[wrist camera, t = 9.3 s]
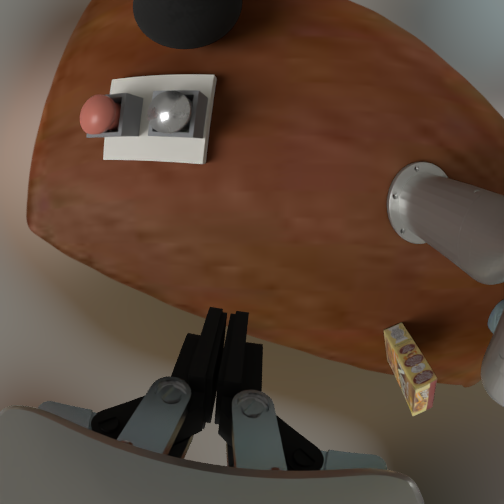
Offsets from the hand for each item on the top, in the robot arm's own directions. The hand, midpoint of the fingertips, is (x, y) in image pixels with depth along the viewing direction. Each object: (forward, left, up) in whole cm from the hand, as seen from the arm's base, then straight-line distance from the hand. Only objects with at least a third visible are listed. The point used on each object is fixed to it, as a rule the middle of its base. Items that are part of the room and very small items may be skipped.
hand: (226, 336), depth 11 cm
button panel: (+15, -11, -27) cm, 33 cm away
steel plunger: (+10, -11, -25) cm, 29 cm away
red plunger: (+19, -11, -24) cm, 32 cm away
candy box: (-30, +21, -27) cm, 46 cm away
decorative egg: (+10, -25, -27) cm, 39 cm away
